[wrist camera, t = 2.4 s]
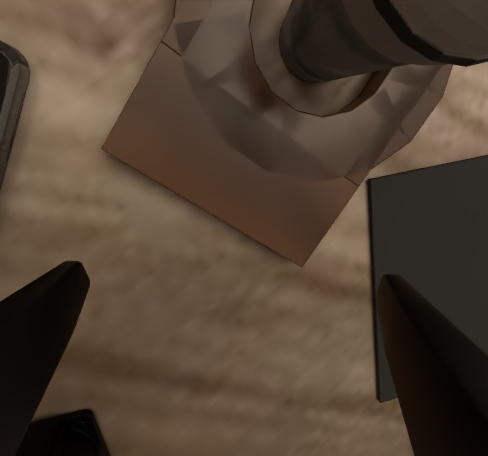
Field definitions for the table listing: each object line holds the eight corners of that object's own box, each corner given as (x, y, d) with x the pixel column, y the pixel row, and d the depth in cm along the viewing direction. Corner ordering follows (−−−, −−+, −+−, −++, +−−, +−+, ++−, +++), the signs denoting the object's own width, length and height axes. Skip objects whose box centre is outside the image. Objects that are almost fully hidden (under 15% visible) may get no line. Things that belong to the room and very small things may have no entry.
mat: (550, 349, 30) (555, 352, 29) (377, 399, 28) (380, 403, 27) (584, 135, 24) (591, 135, 23) (367, 179, 22) (370, 179, 21)
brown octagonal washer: (305, 264, 23) (315, 275, 21) (91, 136, 18) (79, 136, 16) (483, 10, 20) (514, -4, 18) (284, -219, 15) (297, -270, 13)
